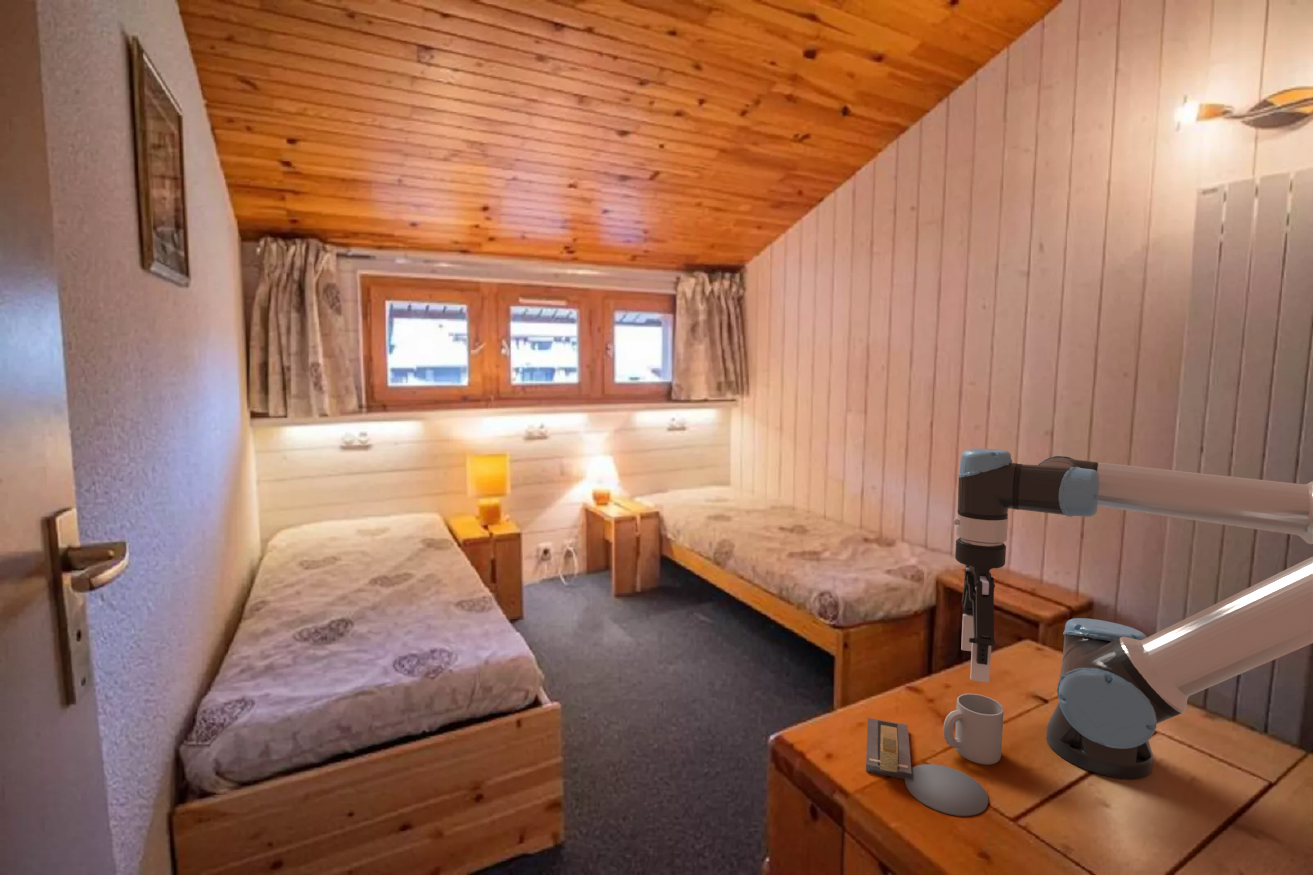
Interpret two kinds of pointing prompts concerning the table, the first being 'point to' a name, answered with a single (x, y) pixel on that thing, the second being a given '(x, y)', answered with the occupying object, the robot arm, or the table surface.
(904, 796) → the table surface
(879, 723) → the lock plate
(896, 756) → the brass stepped block
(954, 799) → the coaster
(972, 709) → the cup
